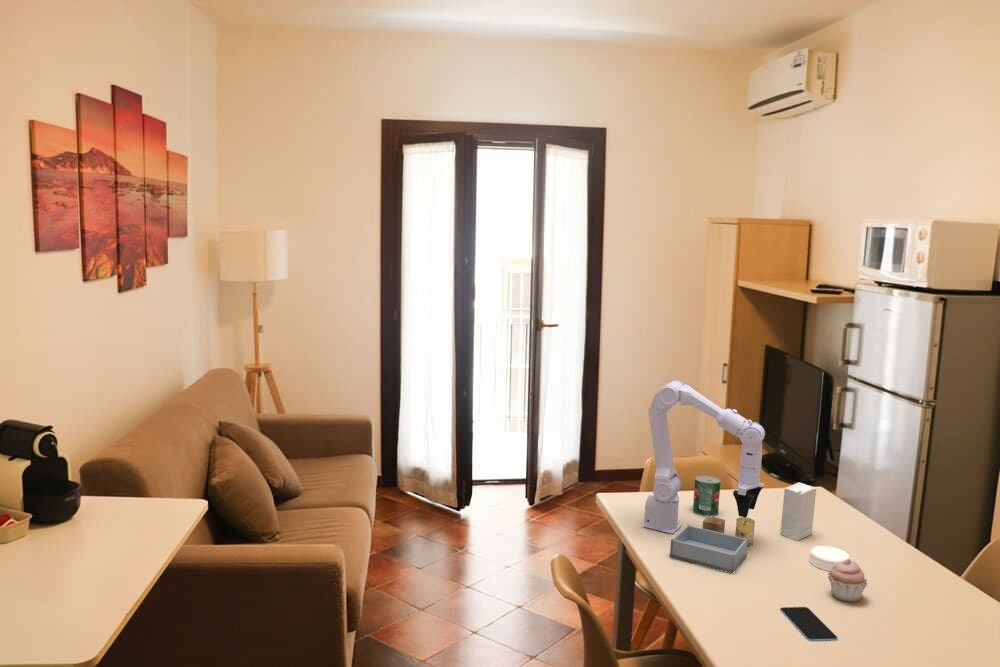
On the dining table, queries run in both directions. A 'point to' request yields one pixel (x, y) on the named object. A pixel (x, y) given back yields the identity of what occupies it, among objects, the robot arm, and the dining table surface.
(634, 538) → the dining table surface
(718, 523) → the walnut cube
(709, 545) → the tote
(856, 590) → the cupcake
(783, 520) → the skincare box
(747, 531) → the brass cylinder
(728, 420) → the robot arm
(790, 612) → the smartphone
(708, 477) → the canned tomato
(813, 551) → the white round disc
